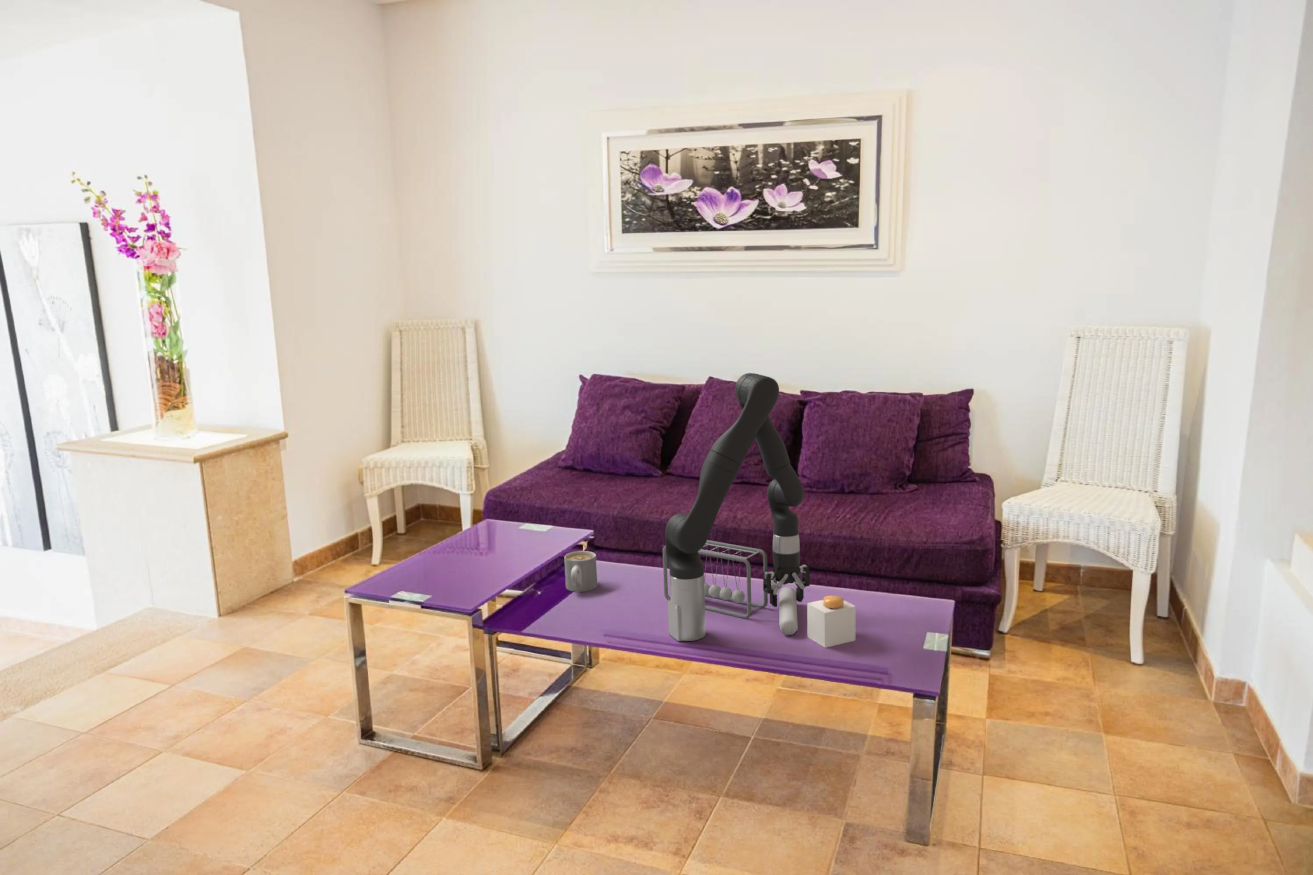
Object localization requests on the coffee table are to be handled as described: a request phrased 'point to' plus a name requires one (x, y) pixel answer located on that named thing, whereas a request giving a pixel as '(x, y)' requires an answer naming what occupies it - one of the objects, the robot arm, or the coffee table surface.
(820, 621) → the housing
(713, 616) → the coffee table surface
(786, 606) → the tube
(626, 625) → the coffee table surface
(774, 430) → the robot arm
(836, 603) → the orange rounded lump
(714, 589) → the newton's cradle
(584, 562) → the coffee mug
